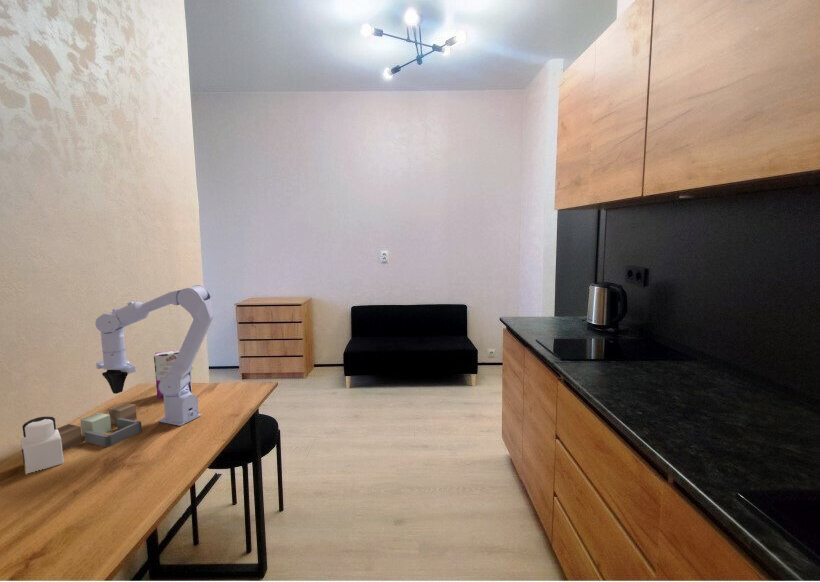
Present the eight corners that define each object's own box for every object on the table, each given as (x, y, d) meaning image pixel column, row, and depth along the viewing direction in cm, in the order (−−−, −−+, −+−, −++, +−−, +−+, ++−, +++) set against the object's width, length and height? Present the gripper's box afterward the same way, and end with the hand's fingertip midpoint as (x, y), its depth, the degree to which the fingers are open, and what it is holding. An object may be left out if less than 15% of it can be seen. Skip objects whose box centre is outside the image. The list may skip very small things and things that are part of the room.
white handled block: (23, 464, 100) (18, 420, 99) (60, 453, 105) (55, 411, 104) (25, 475, 95) (19, 429, 94) (64, 463, 100) (59, 419, 99)
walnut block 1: (82, 443, 111) (80, 426, 110) (62, 451, 106) (60, 434, 106) (70, 440, 112) (68, 424, 112) (50, 448, 108) (48, 431, 107)
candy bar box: (192, 388, 152) (189, 348, 150) (191, 393, 148) (188, 351, 146) (158, 393, 147) (155, 351, 145) (156, 398, 143) (153, 355, 141)
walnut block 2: (136, 419, 126) (135, 404, 125) (121, 426, 121) (119, 410, 121) (125, 417, 127) (124, 402, 127) (110, 423, 123) (108, 408, 122)
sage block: (111, 430, 118) (109, 414, 118) (93, 438, 114) (92, 421, 113) (99, 428, 120) (98, 412, 119) (81, 435, 115) (80, 419, 115)
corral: (142, 431, 118) (141, 421, 117) (107, 447, 108) (106, 437, 108) (120, 426, 121) (119, 417, 120) (85, 442, 111) (84, 432, 111)
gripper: (143, 349, 122) (146, 390, 124) (111, 345, 127) (114, 385, 128) (120, 355, 116) (124, 399, 117) (87, 350, 120) (91, 393, 122)
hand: (117, 392), depth 122 cm, fingers closed
